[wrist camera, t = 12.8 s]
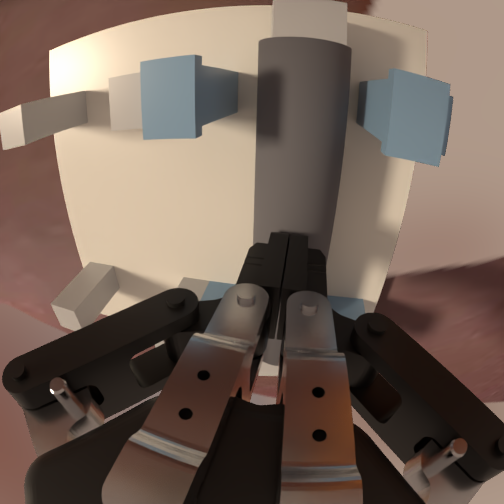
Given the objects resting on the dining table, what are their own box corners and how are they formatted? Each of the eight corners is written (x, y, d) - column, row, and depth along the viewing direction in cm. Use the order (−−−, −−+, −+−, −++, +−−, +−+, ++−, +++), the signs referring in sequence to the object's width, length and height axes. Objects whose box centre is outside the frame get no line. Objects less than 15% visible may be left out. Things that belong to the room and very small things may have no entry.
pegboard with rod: (57, 50, 12) (-20, 59, 7) (421, 33, 9) (487, 10, 4) (104, 307, 23) (66, 359, 18) (355, 348, 20) (359, 422, 15)
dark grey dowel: (259, 13, 10) (259, -11, 7) (339, 21, 10) (364, 2, 7) (250, 339, 20) (248, 381, 17) (301, 340, 20) (306, 382, 17)
